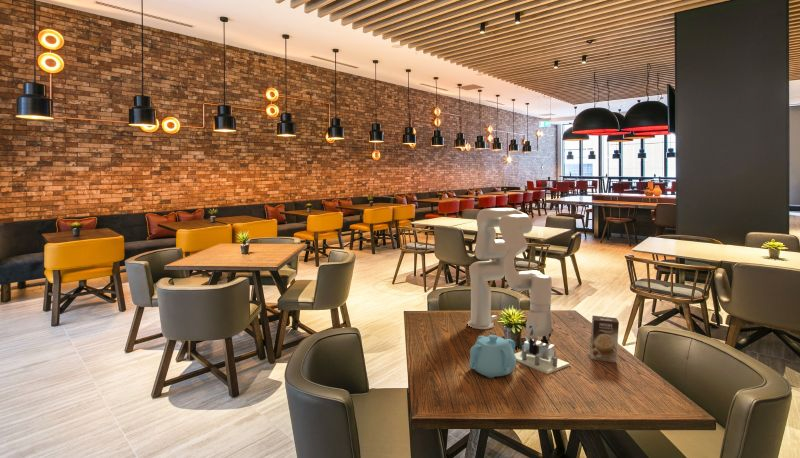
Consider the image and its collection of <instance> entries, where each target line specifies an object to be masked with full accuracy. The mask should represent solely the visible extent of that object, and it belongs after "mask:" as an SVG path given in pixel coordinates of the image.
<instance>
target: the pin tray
mask: <svg viewBox="0 0 800 458" xmlns="http://www.w3.org/2000/svg"><path fill="white" fill-rule="evenodd" d="M514 355H515V357H516V362H518V363H520V364H522V365H525V366H528V367H530V368H532V369H535V370H537V371H539V372H541V373H543V374H547V375H549V374H551V373H554V372H557V371H559V370H563V369H565V368H567V367H569V366H570V363H569V362H567V361H565V360H562V359H560V358H558V357H556V356H557V354H556V350H554V357H552V358H551V359H550V360H545V359H542V358H539V357H538V356H532V355H528V354H527V352H526V351H524V344H523V345H521V351H519V352H514Z"/></svg>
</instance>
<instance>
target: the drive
mask: <svg viewBox="0 0 800 458" xmlns="http://www.w3.org/2000/svg"><path fill="white" fill-rule="evenodd" d="M532 340H533V341H534V338H533V339H532ZM523 345H524V351H526V352H527V354H528V355H532V356H538V357H539V358H542V359H545V360H550V359H551V358H552V357H554V351H555V344H551V343H549V342H548V343H544V342H541V340H537V343H536V345H537V355H533V354H530V353H529V343H528V341H527V340H525V341H524V342H523Z"/></svg>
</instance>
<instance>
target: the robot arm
mask: <svg viewBox="0 0 800 458" xmlns="http://www.w3.org/2000/svg"><path fill="white" fill-rule="evenodd" d="M476 226H477V234H476V241H475V250H474V255H475V257H476V258H477V259H478V260H479V261H475V262H473V263H471V264H470V265H469V269H468V270H469V279H470V320H468V321H467V324H468V325H467V326H468V327H469V326H470V328H471V327H472V328H471V329H476V330H489V329H492V328H494V326H495V325H494V322H493V321H494V320H496V319H498V316H497V315H495V314H494V315H491V314H492V313H491V311H492V307H491V306H492V290H491V287H490V285H489V284H488V282H489V281H497V280H502V279H503V278H504V277H505V279H506V282H507V284H508V287H509V288H510V289H511V290H513V291H515V292H520V291H530V293H529V294H530V297H529V298H530V299H529V301H530V302H529V304H530V305H529V310H528V313H527V318H526V325H525V335H524V338H525V340H526V341H528V343H529V353H530V354H533V355H537V345H536V343H537V341H538V339H539V338H541V339H540V342H544V343H548V344H549V342H550V339H551V336H552V334H553V332H554V329H553V325H552V324H553V322H552V321H553V320H552V310H551V309H552V307H551V306H552V305H551V304H552V282H553V280H552V277H551V276H550V275H547V274H543V273H542V272H541V271H539V270H533V269H532V270H520V271H517V269H516V266H515V257H517V256H519V255H521V254H523V253H524V252H526V250H527V249H528V242H527V239H526V238H525V235H526V234H529V233H530V232H531V231H532V229H533V221H532V218H531V217H530V216H529V215H528V214H527V213H524V212H522V211H520V210H518V209H516V208H512V207H490V208H483V209H480V211H479V212H478V214H477V216H476ZM496 228H499V231H500V234H501V236H502V239H499V238H498V239H497V238H496V235H497V232H496ZM524 234H525V235H524ZM532 339H533V340H534V341H533V340H532Z"/></svg>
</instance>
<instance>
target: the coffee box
mask: <svg viewBox="0 0 800 458" xmlns="http://www.w3.org/2000/svg"><path fill="white" fill-rule="evenodd" d="M619 324H620V323H619V320H618V319H617V318H616V317H608V316H600V315H599V316H598V315H592V316H591V331H590V348H589V349H590V350H589V356H590V358H591V359H590V360H595V361H604V362H610V363H612V362H613V363H617V360H618V359H617V355H618V344H619V343H618V341H619V340H618V339H619V329H620V328H619V327H620V325H619Z"/></svg>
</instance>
